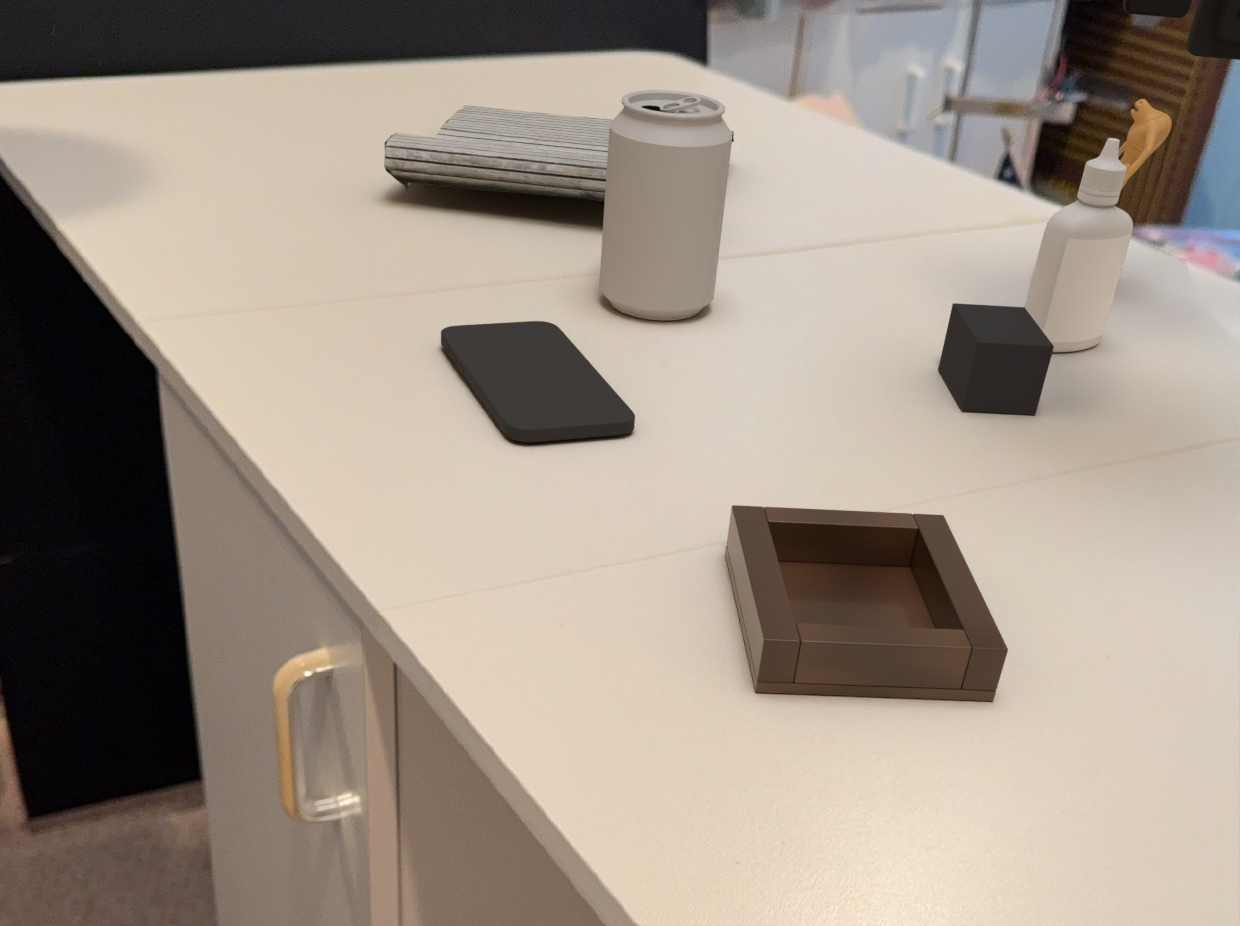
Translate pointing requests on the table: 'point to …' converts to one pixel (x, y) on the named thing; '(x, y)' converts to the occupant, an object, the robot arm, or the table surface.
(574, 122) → the mat
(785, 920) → the table surface
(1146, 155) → the figurine
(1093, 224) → the eye dropper bottle
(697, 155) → the can
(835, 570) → the socket
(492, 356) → the phone
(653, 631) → the table surface
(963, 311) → the block
